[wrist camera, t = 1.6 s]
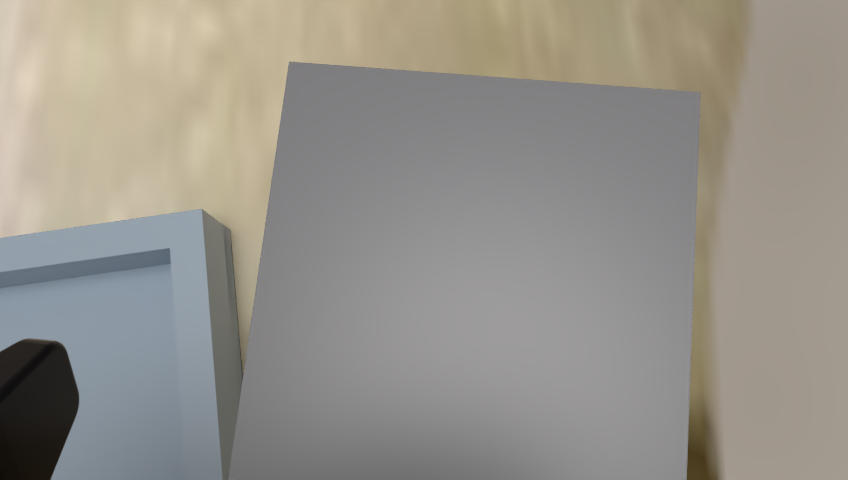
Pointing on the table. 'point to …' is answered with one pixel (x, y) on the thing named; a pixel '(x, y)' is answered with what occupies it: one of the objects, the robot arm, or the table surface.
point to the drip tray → (135, 341)
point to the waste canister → (472, 281)
